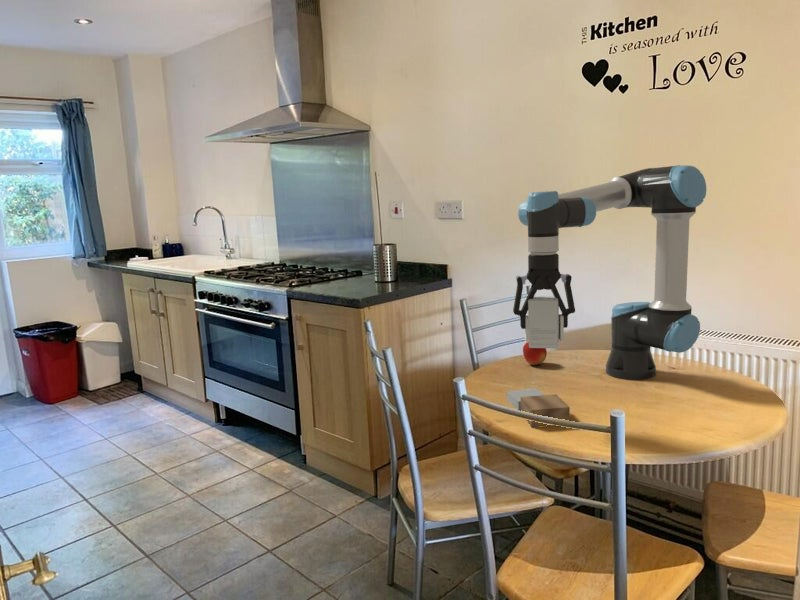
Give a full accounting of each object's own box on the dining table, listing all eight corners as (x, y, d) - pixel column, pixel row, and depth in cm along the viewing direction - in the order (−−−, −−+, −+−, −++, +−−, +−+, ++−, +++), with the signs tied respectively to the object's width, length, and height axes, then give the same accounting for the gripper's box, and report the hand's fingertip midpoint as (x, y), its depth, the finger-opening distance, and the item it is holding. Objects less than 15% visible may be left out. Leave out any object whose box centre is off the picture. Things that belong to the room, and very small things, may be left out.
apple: (522, 361, 205) (521, 334, 204) (545, 361, 204) (545, 334, 202) (523, 368, 197) (523, 340, 196) (548, 367, 196) (547, 339, 194)
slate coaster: (536, 397, 169) (535, 387, 169) (549, 408, 161) (548, 397, 160) (507, 401, 168) (506, 391, 167) (518, 411, 159) (518, 401, 159)
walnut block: (556, 411, 157) (556, 394, 157) (569, 425, 148) (569, 407, 147) (520, 414, 157) (520, 397, 156) (531, 428, 147) (531, 410, 146)
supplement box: (559, 342, 151) (559, 295, 149) (557, 349, 144) (557, 300, 142) (530, 341, 153) (530, 294, 151) (527, 348, 146) (527, 299, 144)
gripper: (582, 250, 147) (582, 335, 151) (500, 253, 150) (502, 337, 153) (588, 252, 140) (588, 342, 144) (502, 256, 142) (504, 344, 146)
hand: (544, 340), depth 149 cm, fingers closed on supplement box, 8 cm apart
